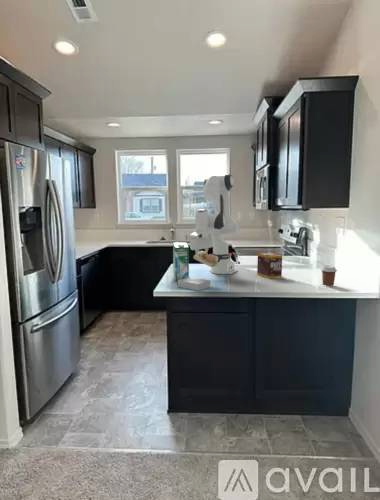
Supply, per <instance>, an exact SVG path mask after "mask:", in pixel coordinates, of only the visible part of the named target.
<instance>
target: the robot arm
mask: <svg viewBox="0 0 380 500" xmlns="http://www.w3.org/2000/svg"><path fill="white" fill-rule="evenodd" d="M234 181H235V180H234V177H233V175H232V174H231V173H224V174H223V173H222V174H216V175H215V174H211V175H209V176H207V177H206V178H205V179H204V181H203V186H204V187H203V193H202V194H203V197H204V199H205V200H206V201H208V202H209V203H212V204H214V209H213V212H214V214H213V213H209V211H208V209H207V208H199V209H197V210H196V211H195V216H194V218H195V219H194V224H195V228H194V231H193V232H192V233H190V235H189V248H190V249H189V250H190V251H195V254H196V256H197V257H199V256H200V254H199V252H198V251H200V250H203V249H204V252H206V253H208V251H209V249H211V248H212V255H214V256H216V259H215V260H217V261H218V262H217V263H218V264H217V266H214V267H210V269H209V272H210V273H212V274H216V275H232V274H234V273H235V272H237V271H238V268H236V267H235V266H236V265H235V262H234V261H233V260H232V259H231V258H230V257H231V256H232V253H229V243H228V242H227V240H225V239H223V238H222V237H221V236H232V235H236V234H237V233H238V231H239V230H240V229H239V228H240V226H239V224H238V221H236V220H235V219H234V218H233V217H232V215H231V211H230V209H231V208H230V204H231V203H230V191H231V189H232V188H233V187H234V183H235V182H234Z"/></svg>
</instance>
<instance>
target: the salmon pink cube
mask: <svg viewBox="0 0 380 500" xmlns="http://www.w3.org/2000/svg"><path fill="white" fill-rule="evenodd" d="M207 259H208V260H210V261H215V259H216V256H214V255H213V253H209V254H208V255H207Z"/></svg>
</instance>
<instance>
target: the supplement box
mask: <svg viewBox="0 0 380 500" xmlns="http://www.w3.org/2000/svg"><path fill="white" fill-rule="evenodd" d="M256 265H257V270H256V271H257V273H256V275H258V276H261V277H262V278H263V277H264V278H267V279H269V278H270V279H277V278H276V277H280V278H282V277H283V276H282V274H283V273H282V272H283V271H282V270H283V255H282V254H278V253H274V252H260V253H257V264H256Z"/></svg>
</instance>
